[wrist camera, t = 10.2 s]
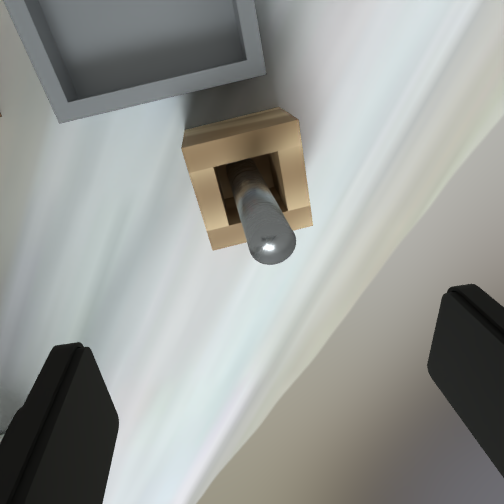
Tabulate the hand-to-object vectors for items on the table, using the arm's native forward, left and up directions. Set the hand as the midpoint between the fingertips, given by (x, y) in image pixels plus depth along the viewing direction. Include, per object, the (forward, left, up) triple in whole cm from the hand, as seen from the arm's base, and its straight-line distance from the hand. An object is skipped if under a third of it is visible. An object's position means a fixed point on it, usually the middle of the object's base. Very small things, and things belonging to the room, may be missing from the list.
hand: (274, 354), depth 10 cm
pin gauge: (-1, -1, -19) cm, 19 cm away
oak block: (-1, -1, -20) cm, 20 cm away
